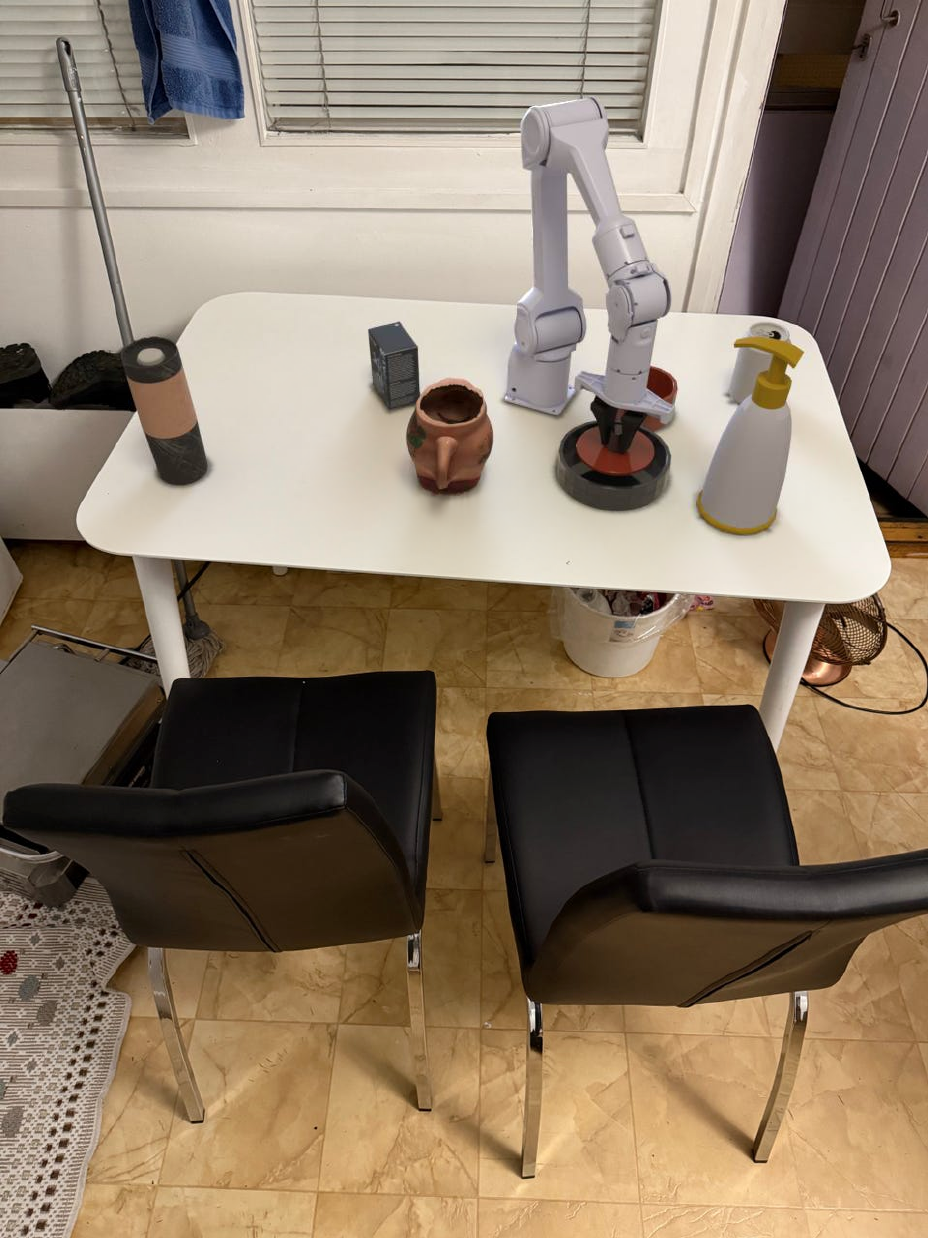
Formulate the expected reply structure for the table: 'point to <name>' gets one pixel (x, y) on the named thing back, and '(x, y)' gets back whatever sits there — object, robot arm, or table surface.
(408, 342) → the box
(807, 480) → the table surface
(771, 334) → the can
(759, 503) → the soap bottle
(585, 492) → the pan
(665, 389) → the reddish brown bowl
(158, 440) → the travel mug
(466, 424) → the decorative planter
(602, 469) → the lid
